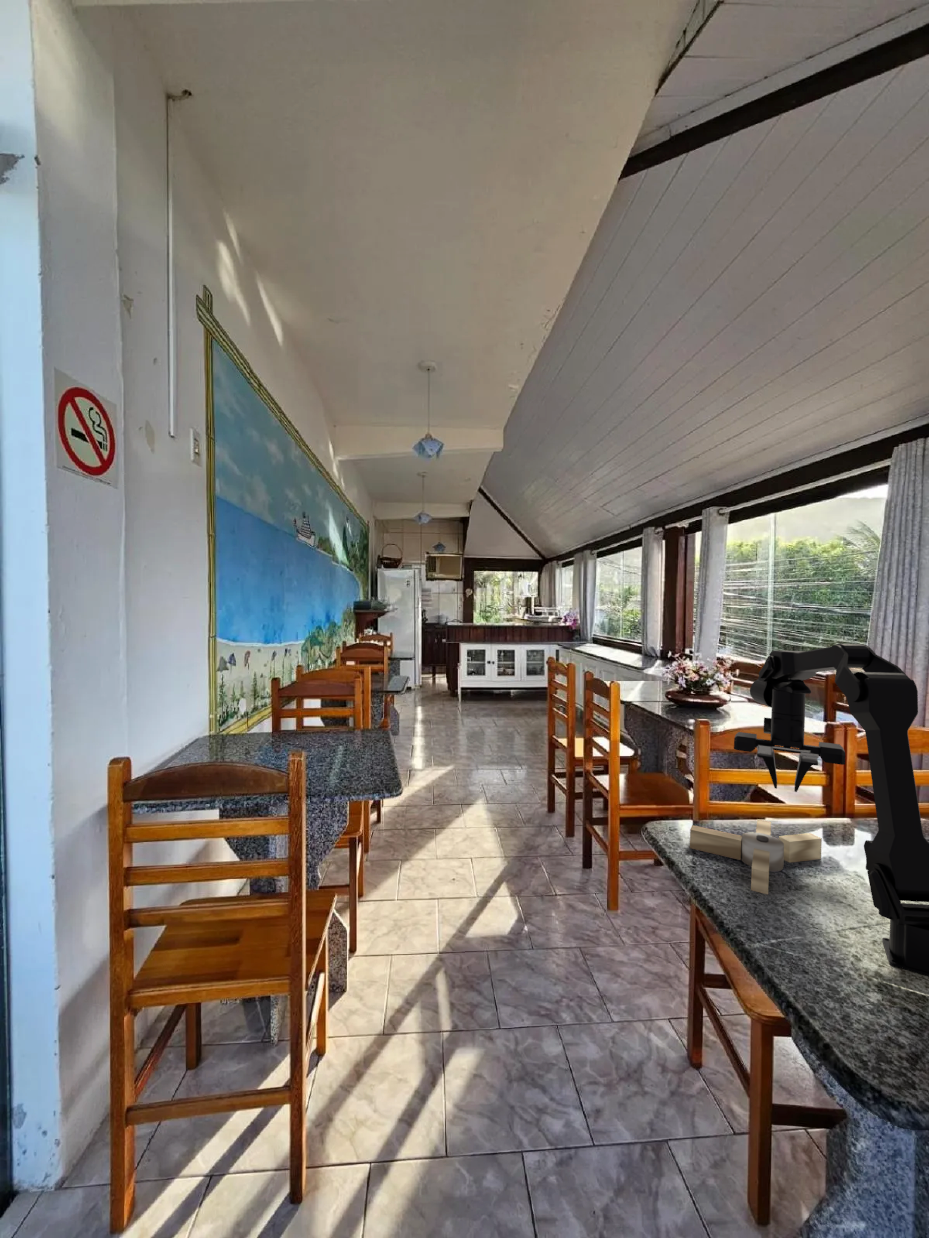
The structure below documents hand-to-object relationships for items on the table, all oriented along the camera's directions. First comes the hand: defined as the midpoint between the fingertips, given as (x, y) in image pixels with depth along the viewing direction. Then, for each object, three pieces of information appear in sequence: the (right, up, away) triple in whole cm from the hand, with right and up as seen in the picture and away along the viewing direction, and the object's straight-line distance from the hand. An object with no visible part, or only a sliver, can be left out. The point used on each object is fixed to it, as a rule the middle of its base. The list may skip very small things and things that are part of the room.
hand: (785, 789), depth 105 cm
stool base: (-12, -12, -4) cm, 18 cm away
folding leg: (0, -12, -4) cm, 13 cm away
